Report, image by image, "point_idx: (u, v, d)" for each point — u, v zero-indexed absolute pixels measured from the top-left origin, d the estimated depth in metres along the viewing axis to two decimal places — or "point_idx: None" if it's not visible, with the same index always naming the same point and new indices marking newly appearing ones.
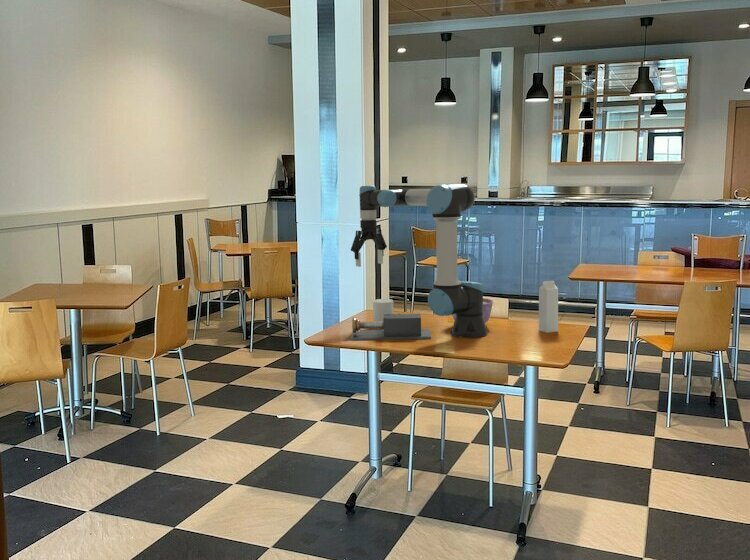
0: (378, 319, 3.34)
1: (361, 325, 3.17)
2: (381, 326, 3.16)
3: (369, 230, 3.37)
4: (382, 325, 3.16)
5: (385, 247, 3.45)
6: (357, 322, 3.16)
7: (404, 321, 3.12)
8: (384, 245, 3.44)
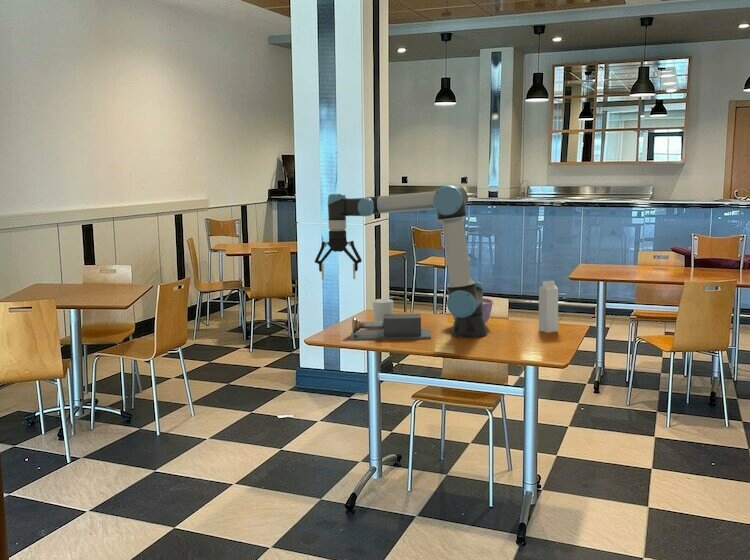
0: (378, 319, 3.34)
1: (361, 325, 3.17)
2: (381, 326, 3.16)
3: (336, 242, 3.14)
4: (382, 325, 3.16)
5: (359, 261, 3.14)
6: (357, 322, 3.16)
7: (404, 321, 3.12)
8: None
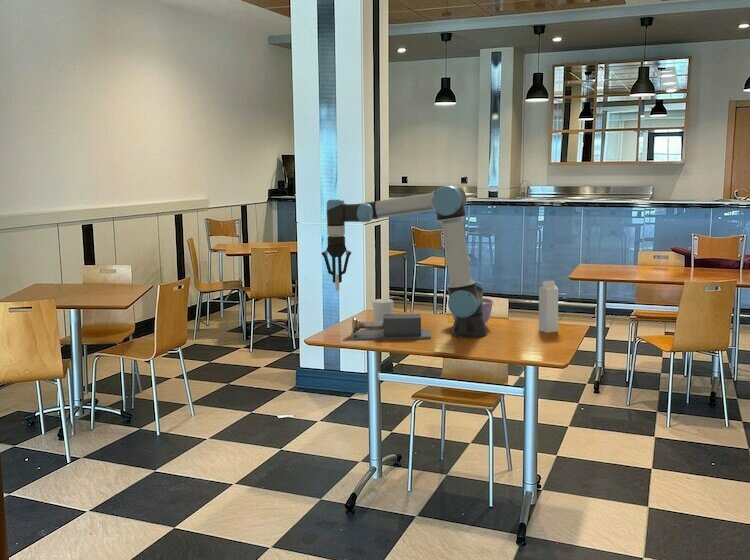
0: (378, 319, 3.34)
1: (361, 325, 3.17)
2: (381, 326, 3.16)
3: (335, 247, 3.13)
4: (382, 325, 3.16)
5: (342, 272, 3.14)
6: (357, 322, 3.16)
7: (404, 321, 3.12)
8: (343, 269, 3.14)
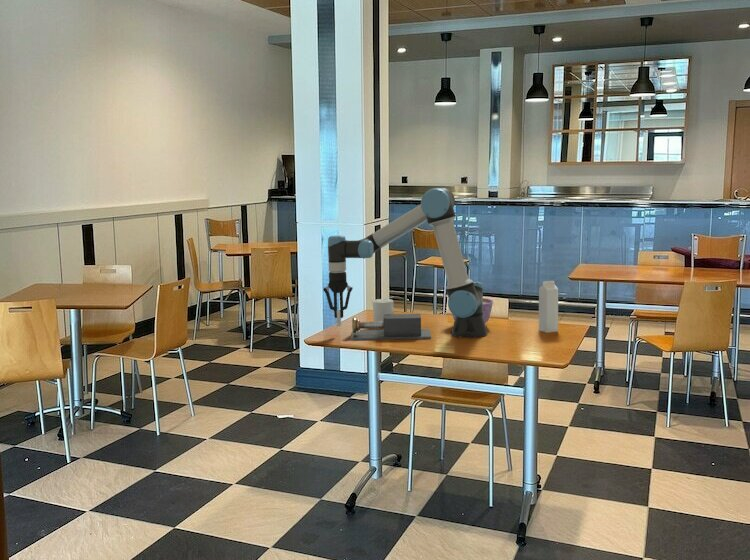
0: (378, 319, 3.34)
1: (361, 325, 3.17)
2: (381, 326, 3.16)
3: (336, 283, 3.15)
4: (382, 325, 3.16)
5: (344, 308, 3.16)
6: (357, 322, 3.16)
7: (404, 321, 3.12)
8: None
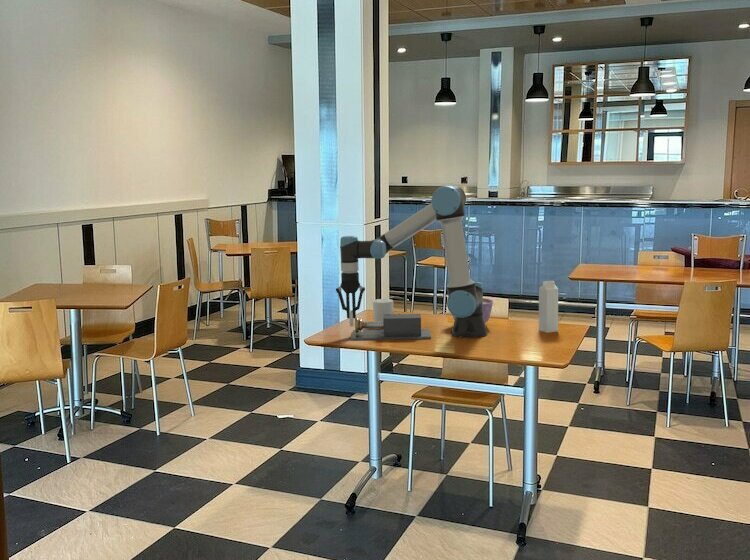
0: (378, 319, 3.34)
1: (364, 325, 3.17)
2: None
3: (349, 283, 3.15)
4: None
5: (356, 308, 3.16)
6: (360, 322, 3.16)
7: (404, 321, 3.12)
8: (357, 305, 3.16)
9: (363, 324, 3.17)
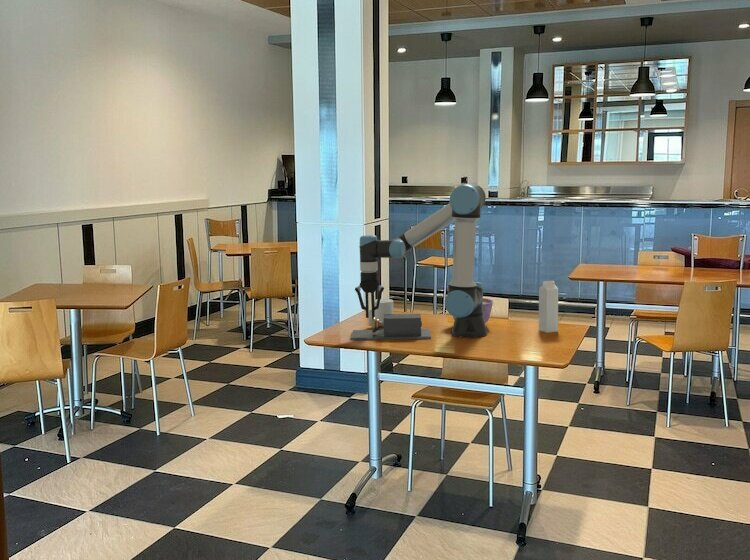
0: None
1: (380, 325, 3.16)
2: None
3: (368, 283, 3.14)
4: None
5: (376, 307, 3.16)
6: (377, 322, 3.16)
7: (404, 321, 3.12)
8: (376, 305, 3.15)
9: (380, 324, 3.16)
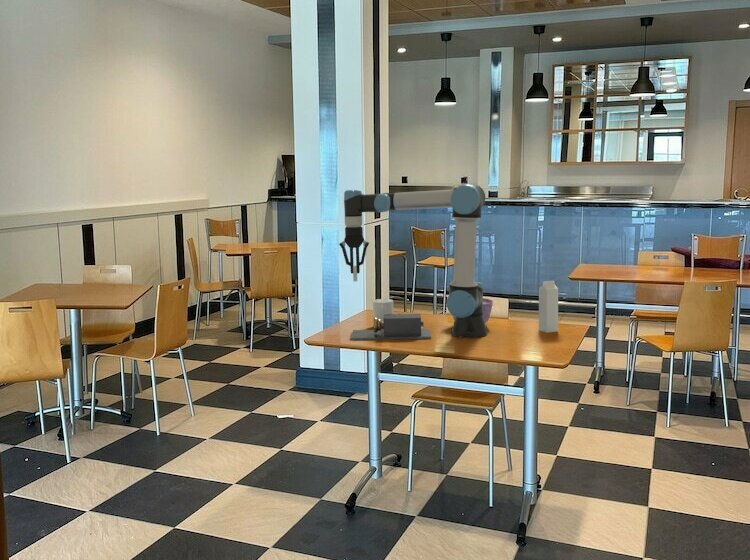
0: None
1: (382, 325, 3.16)
2: None
3: (352, 238, 3.12)
4: None
5: (360, 263, 3.13)
6: (378, 322, 3.16)
7: (404, 321, 3.12)
8: (361, 260, 3.13)
9: (382, 324, 3.16)
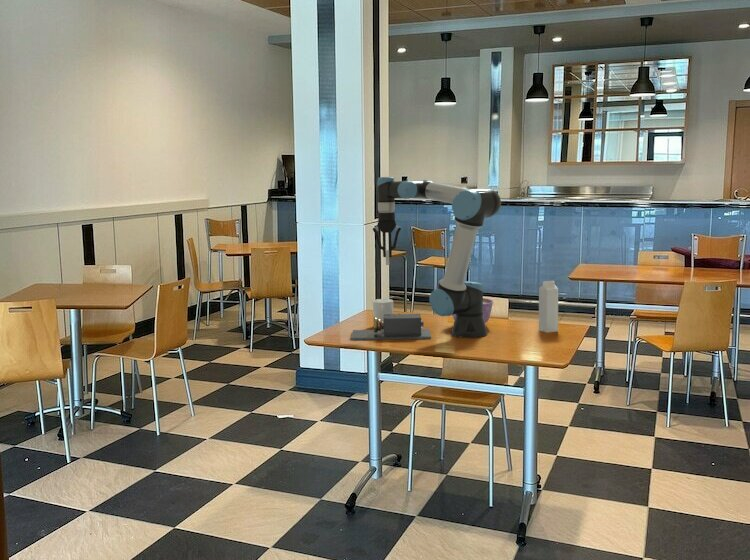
0: None
1: (382, 325, 3.16)
2: None
3: (385, 223, 3.25)
4: None
5: (393, 247, 3.26)
6: (378, 322, 3.16)
7: (404, 321, 3.12)
8: (393, 244, 3.26)
9: (382, 324, 3.16)
